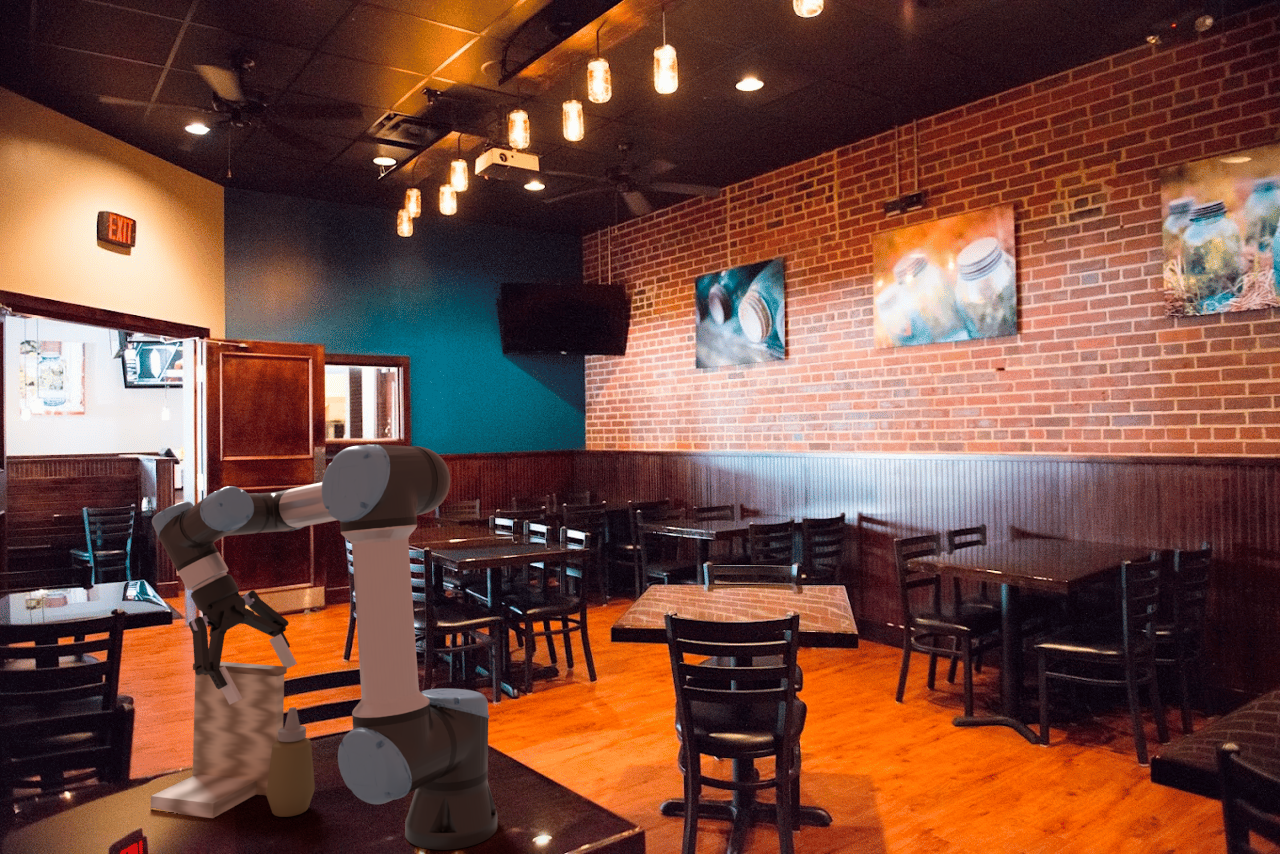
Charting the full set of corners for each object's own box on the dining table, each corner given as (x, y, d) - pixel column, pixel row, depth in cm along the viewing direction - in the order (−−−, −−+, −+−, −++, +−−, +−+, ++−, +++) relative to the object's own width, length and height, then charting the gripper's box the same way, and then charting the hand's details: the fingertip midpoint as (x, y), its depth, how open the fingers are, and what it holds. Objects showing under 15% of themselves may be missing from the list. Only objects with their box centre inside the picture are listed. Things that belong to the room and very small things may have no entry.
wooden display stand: (284, 792, 160) (286, 666, 161) (234, 820, 147) (237, 684, 148) (199, 782, 165) (203, 660, 166) (144, 809, 152) (148, 677, 153)
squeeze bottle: (297, 822, 147) (299, 716, 148) (255, 818, 148) (257, 713, 149) (323, 804, 155) (325, 703, 155) (283, 800, 156) (285, 700, 157)
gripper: (248, 566, 171) (299, 659, 172) (138, 616, 149) (197, 724, 149) (272, 552, 168) (324, 647, 169) (163, 601, 146) (223, 711, 146)
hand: (264, 683), depth 159 cm, fingers open, 13 cm apart
